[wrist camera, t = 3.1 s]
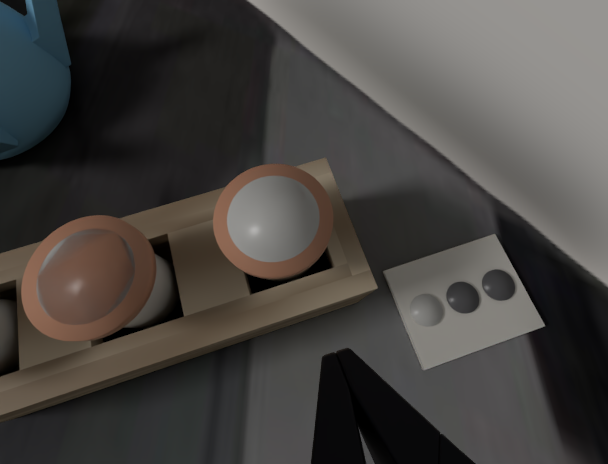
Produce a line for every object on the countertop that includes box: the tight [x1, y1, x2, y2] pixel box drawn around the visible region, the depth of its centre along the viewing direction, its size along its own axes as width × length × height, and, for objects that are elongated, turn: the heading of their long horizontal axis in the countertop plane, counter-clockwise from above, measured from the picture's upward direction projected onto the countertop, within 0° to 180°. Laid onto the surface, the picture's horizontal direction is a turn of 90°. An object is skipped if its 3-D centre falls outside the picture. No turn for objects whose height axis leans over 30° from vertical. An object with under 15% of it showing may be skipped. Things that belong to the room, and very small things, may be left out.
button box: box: [0, 158, 378, 423], centre depth 20 cm, size 8×24×7 cm, turn 108°
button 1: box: [213, 164, 333, 282], centre depth 16 cm, size 5×5×5 cm
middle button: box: [21, 215, 180, 341], centre depth 15 cm, size 5×5×5 cm
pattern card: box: [383, 234, 545, 370], centre depth 23 cm, size 7×9×1 cm
